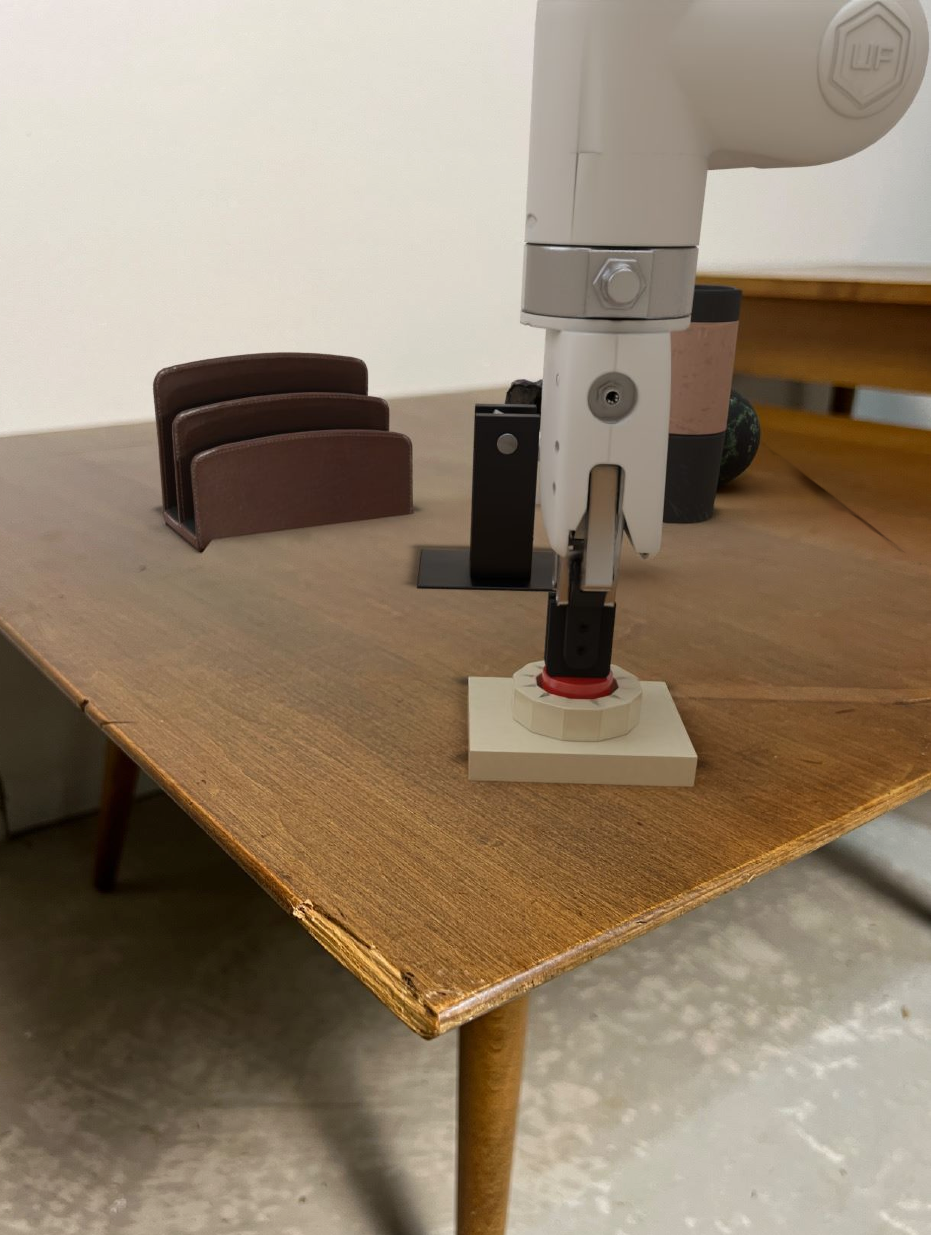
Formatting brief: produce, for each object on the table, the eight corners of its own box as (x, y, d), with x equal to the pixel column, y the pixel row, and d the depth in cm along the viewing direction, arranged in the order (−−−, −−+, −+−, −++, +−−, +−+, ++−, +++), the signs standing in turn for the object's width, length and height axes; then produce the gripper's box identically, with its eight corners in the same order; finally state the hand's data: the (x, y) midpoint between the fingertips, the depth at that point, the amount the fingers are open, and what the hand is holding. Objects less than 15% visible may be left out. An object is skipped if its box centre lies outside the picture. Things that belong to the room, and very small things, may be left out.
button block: (662, 708, 60) (668, 651, 59) (693, 787, 52) (702, 723, 51) (467, 703, 61) (469, 646, 59) (468, 781, 52) (470, 716, 51)
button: (605, 688, 57) (608, 658, 56) (614, 718, 54) (617, 686, 53) (538, 686, 57) (540, 656, 56) (542, 716, 54) (545, 684, 53)
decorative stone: (712, 471, 116) (724, 376, 112) (774, 492, 107) (789, 390, 103) (633, 478, 112) (643, 380, 108) (691, 501, 104) (703, 395, 100)
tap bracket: (573, 566, 84) (585, 400, 79) (585, 605, 76) (600, 423, 71) (420, 563, 84) (423, 397, 79) (416, 601, 76) (419, 419, 71)
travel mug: (609, 521, 97) (629, 285, 88) (662, 508, 101) (686, 282, 93) (678, 540, 91) (706, 291, 83) (731, 525, 96) (763, 288, 88)
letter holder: (162, 523, 94) (148, 357, 88) (365, 499, 103) (364, 346, 97) (197, 553, 86) (184, 372, 80) (414, 524, 95) (416, 359, 89)
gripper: (731, 306, 40) (676, 740, 48) (662, 281, 54) (628, 622, 61) (532, 302, 40) (508, 735, 48) (513, 279, 54) (497, 619, 62)
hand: (576, 671), depth 55 cm, fingers closed
